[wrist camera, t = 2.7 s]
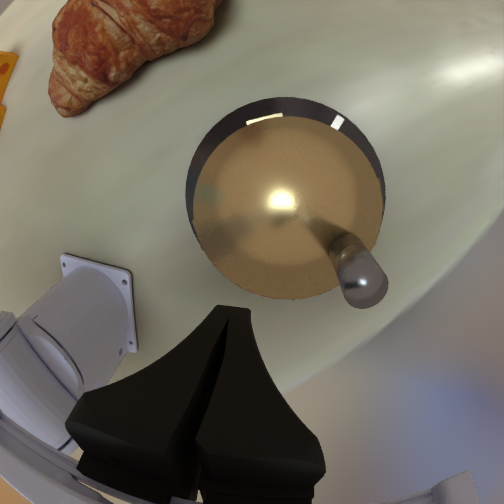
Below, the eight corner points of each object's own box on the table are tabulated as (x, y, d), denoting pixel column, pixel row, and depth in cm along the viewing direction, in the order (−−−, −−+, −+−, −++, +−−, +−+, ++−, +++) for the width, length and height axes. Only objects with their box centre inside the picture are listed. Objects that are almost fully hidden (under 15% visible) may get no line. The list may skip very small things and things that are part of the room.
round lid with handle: (181, 228, 18) (134, 278, 12) (257, 90, 14) (243, 58, 8) (308, 298, 19) (319, 371, 13) (393, 180, 15) (454, 209, 9)
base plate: (348, 296, 21) (352, 306, 19) (183, 265, 21) (177, 273, 19) (397, 129, 15) (405, 129, 14) (205, 87, 16) (200, 83, 14)
